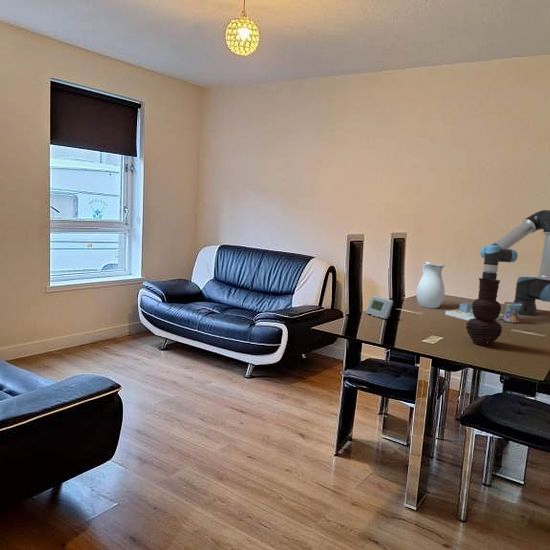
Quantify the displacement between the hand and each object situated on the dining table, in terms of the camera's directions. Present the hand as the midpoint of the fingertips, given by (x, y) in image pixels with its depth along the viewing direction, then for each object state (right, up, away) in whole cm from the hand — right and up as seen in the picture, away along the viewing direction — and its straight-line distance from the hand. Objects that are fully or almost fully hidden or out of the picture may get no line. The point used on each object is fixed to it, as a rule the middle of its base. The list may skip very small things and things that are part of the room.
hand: (485, 312), depth 285 cm
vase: (-26, -10, -58) cm, 65 cm away
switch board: (-4, -3, +4) cm, 6 cm away
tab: (-9, 0, +6) cm, 11 cm away
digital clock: (-65, -2, -14) cm, 66 cm away
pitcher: (-24, +2, +30) cm, 38 cm away
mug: (+13, -5, -4) cm, 15 cm away
